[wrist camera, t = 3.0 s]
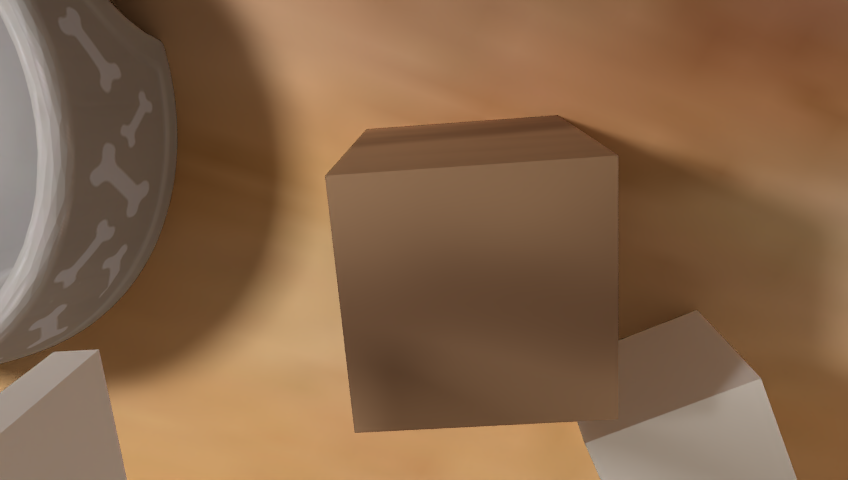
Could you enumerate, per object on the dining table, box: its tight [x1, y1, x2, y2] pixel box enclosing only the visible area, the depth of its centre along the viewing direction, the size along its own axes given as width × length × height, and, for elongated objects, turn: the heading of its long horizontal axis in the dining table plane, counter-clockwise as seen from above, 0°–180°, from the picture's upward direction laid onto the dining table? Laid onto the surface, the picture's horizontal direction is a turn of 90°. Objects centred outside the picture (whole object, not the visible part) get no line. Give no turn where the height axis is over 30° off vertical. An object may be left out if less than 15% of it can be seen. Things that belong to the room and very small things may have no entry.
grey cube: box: [577, 310, 797, 480], centre depth 22 cm, size 5×5×5 cm
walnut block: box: [325, 115, 618, 433], centre depth 19 cm, size 6×6×8 cm
